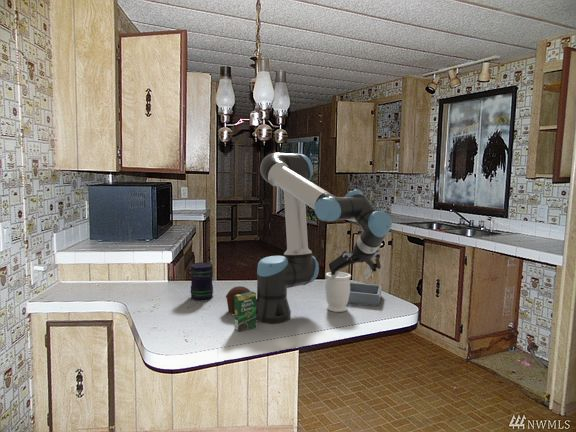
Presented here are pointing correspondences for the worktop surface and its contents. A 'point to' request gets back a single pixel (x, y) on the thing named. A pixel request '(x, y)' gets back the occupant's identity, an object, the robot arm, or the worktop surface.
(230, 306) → the muffin
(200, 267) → the storage jar
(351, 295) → the bin
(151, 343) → the worktop surface
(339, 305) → the white tapered cylinder
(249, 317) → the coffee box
